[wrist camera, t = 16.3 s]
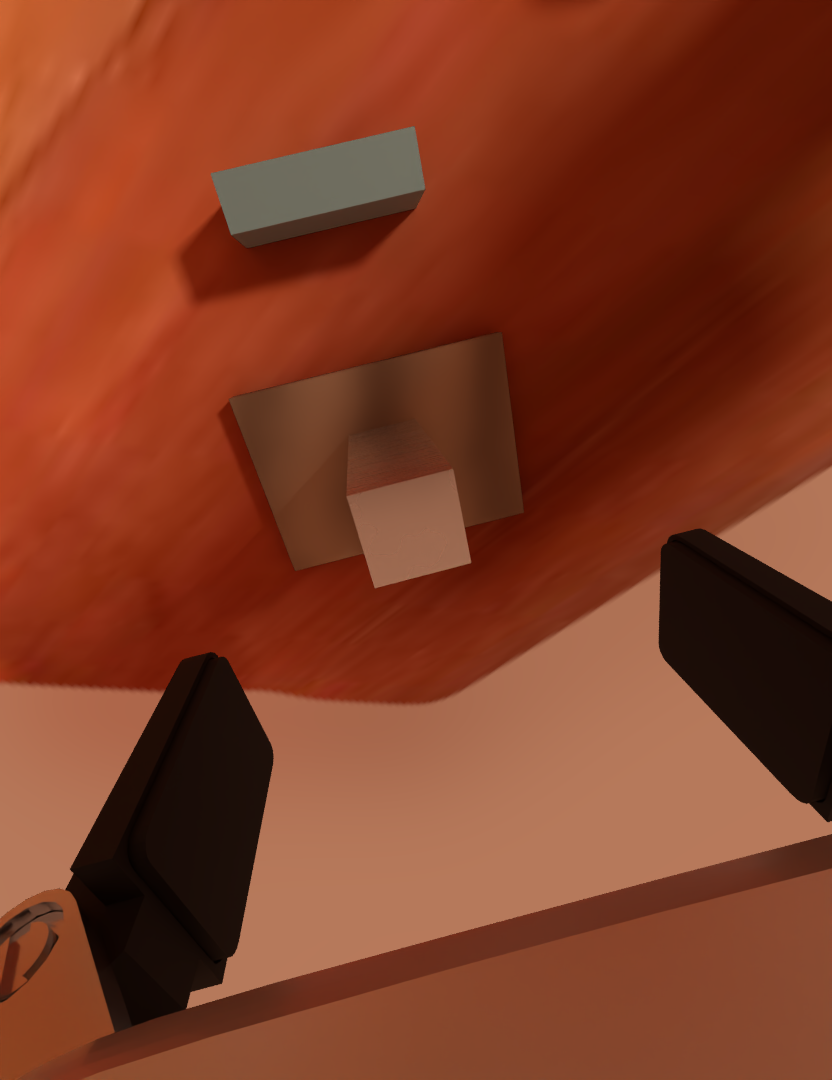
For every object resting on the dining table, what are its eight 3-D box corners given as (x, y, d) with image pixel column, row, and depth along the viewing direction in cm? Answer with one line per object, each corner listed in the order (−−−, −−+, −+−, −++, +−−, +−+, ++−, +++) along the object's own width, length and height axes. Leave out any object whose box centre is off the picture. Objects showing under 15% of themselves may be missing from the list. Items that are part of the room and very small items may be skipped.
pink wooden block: (415, 418, 24) (453, 468, 15) (437, 520, 26) (481, 616, 17) (348, 435, 24) (346, 496, 15) (377, 536, 26) (390, 640, 17)
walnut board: (496, 332, 24) (501, 332, 23) (518, 506, 28) (524, 512, 27) (233, 396, 23) (228, 399, 22) (296, 563, 27) (294, 571, 27)
